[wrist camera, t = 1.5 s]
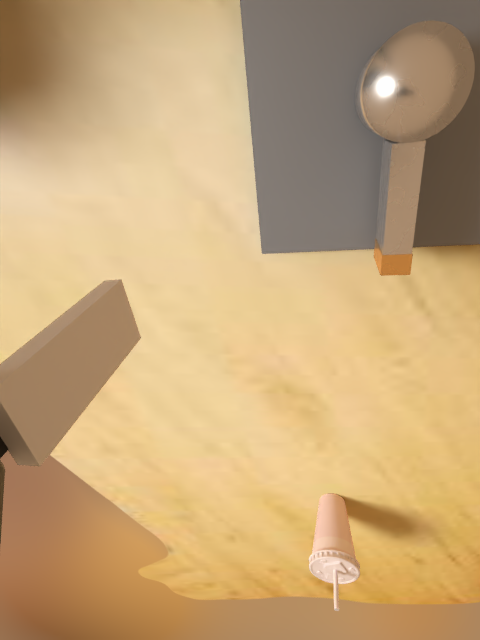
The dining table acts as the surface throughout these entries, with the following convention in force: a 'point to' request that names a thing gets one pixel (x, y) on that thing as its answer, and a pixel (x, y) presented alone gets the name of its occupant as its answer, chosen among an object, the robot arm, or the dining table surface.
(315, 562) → the smoothie
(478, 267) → the dining table surface
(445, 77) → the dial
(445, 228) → the grey base plate
